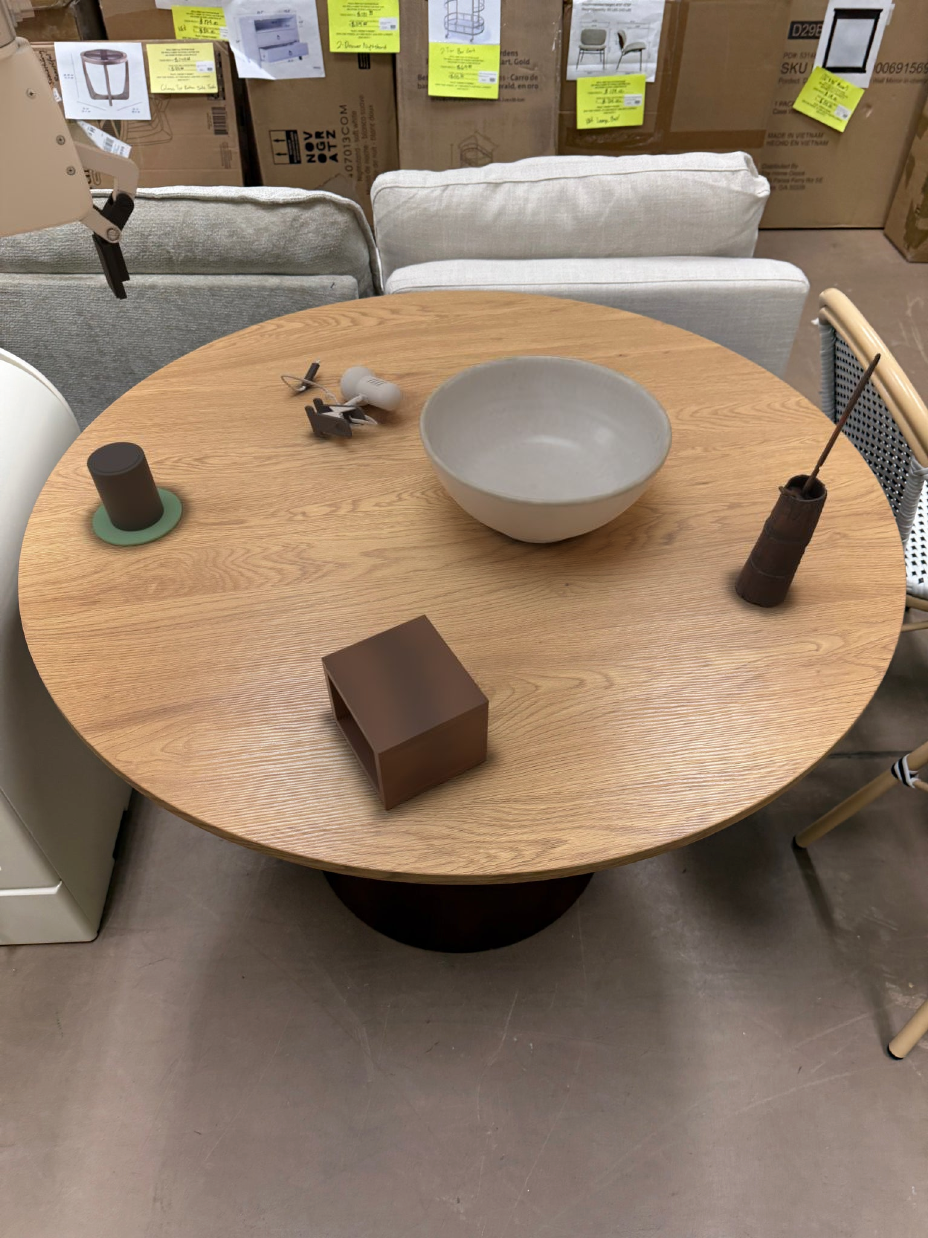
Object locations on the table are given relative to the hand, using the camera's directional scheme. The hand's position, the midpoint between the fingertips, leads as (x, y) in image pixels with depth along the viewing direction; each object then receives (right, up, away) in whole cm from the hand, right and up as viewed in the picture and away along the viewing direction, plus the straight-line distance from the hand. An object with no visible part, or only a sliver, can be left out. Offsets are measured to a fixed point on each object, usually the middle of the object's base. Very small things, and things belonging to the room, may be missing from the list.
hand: (51, 307), depth 59 cm
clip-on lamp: (+13, +5, +49) cm, 51 cm away
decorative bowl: (+39, -10, +36) cm, 54 cm away
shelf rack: (+25, -34, +15) cm, 45 cm away
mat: (-8, -11, +35) cm, 37 cm away
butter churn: (+61, -20, +27) cm, 69 cm away
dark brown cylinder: (-8, -11, +35) cm, 37 cm away
